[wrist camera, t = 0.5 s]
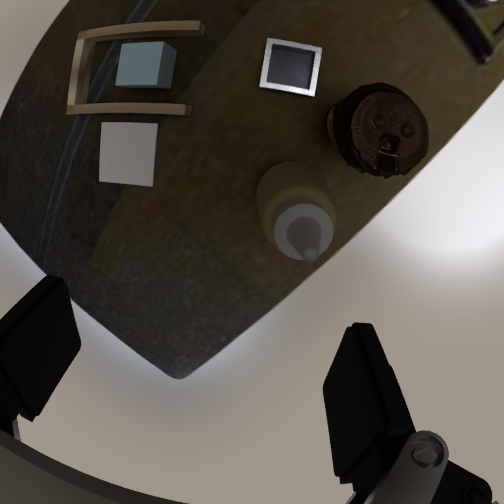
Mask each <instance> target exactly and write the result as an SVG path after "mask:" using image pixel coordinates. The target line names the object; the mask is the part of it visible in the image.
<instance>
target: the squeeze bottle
mask: <svg viewBox="0 0 504 504" xmlns="http://www.w3.org/2000/svg"><path fill="white" fill-rule="evenodd" d="M256 204H257V208H258V212H259V216H260V220H261V224H262V228H263V231H264V233H265V235H266V237H267V240H268V241H269V242H270V243H271V244H272V245H273V246H274V247H275V248H276V249H277V250H278V251H280V252H283V253H284V254H285V255H286V256H289V257H291V258H294V259H296V260H305V261H307V262H312V261H315V260H316V259H317V258H318V256H319V255H320V254H322V253H323V252H324V251H325V250H326V249H327V248H328V247H329V245H330V243H331V241H332V239H333V236H334V234H335V232H336V230H337V222H338V213H337V210H336V207H335V204H334V201H333V199H332V196H331V194H330V191H329V189H328V186H327V184H326V181H325V179H324V177H323V176H322V175H321V174H320V173H319V172H318V171H317V170H316V169H315V168H314V167H312V166H310V165H308V164H306V163H303V162H300V161H285V162H283V163H280V164H278V165H275V166H272V167H271V168H270V169H269V170H268V171H267V172H266V173H265V174H264V175H263V176H262V178H261V180H260V182H259V185H258V187H257V189H256Z"/></svg>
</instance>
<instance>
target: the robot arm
mask: <svg viewBox="0 0 504 504" xmlns="http://www.w3.org/2000/svg"><path fill="white" fill-rule="evenodd" d="M80 348H81V339H80V336H79V332H78V329H77V325H76V321H75V317H74V313H73V309H72V305H71V300H70V296H69V291H68V287H67V284H66V283H65V282H64V280H63V278H61V277H57V276H53V275H47V276H45V277H44V278H43V279H42V280H41V281H40V282H39V283H37V285H35V286H34V287H33V288H32V289H31V290H30V291H29V292H28V293H27V294H26V295H25V296H24V297H23V298H21V299H20V301H18V302H17V304H15V305H14V306H13V307H12V308H11V309H10V310H9V311H8V312H7V313H6V314H5V315H4V316H3V317H2V318H1V319H0V504H187V503H182V502H177V501H173V500H168V499H164V498H160V497H155V496H152V495H148V494H144V493H141V492H137V491H134V490H130V489H127V488H124V487H121V486H118V485H115V484H111V483H109V482H106V481H103V480H101V479H98V478H95V477H93V476H90V475H88V474H85V473H83V472H80V471H78V470H76V469H74V468H71V467H69V466H67V465H65V464H62V463H60V462H58V461H56V460H54V459H52V458H50V457H48V456H46V455H44V454H42V453H40V452H38V451H36V450H35V449H33V448H31V447H29V446H27V445H26V444H24V443H22V442H21V439H20V434H19V428H18V422H17V416H18V414H20V415H21V416H22V417H24V418H25V419H27V420H29V421H31V422H33V420H34V418H35V417H36V416H38V415H40V413H41V412H42V410H43V408H44V406H45V405H46V403H47V401H48V400H49V398H50V396H51V395H52V393H53V391H54V390H55V388H56V386H57V385H58V383H59V382H60V380H61V378H62V377H63V375H64V373H65V372H66V370H67V369H68V367H69V366H70V364H71V362H72V361H73V360H74V358H75V357H76V355H77V354H78V352H79V350H80ZM323 395H324V402H325V409H326V416H327V423H328V430H329V437H330V444H331V452H332V460H333V468H334V474H335V476H337V477H339V478H340V484H347V483H352V484H353V491H354V493H353V494H352V496H351V497H350V498H349V500H348V501H347V502H346V504H499V503H498V502H497V501H495V502H493V503H492V502H491V501H492V491H491V488H490V486H489V484H488V483H487V482H486V481H485V480H484V479H482V478H480V477H478V476H476V475H474V474H473V473H471V472H469V471H467V470H465V469H464V468H462V467H460V466H458V465H456V464H455V463H453V462H451V461H449V460H448V457H449V452H448V447H447V445H446V443H445V441H444V440H443V439H442V438H441V437H440V436H439V435H437V434H436V433H433V432H431V431H423V430H422V431H418V432H416V430H415V427H414V424H413V422H412V419H411V416H410V413H409V410H408V408H407V405H406V402H405V399H404V397H403V394H402V392H401V389H400V386H399V383H398V381H397V379H396V376H395V373H394V371H393V369H392V367H391V366H390V365H389V363H388V361H387V358H386V355H385V353H384V350H383V348H382V346H381V343H380V341H379V339H378V336H377V334H376V331H375V329H374V327H373V325H372V324H370V323H357V322H355V323H353V324H352V326H351V327H347V328H346V330H345V333H344V335H343V338H342V341H341V343H340V346H339V349H338V350H337V353H336V355H335V358H334V360H333V363H332V365H331V367H330V370H329V372H328V374H327V376H326V379H325V381H324V384H323Z"/></svg>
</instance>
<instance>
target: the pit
mask: <svg viewBox="0 0 504 504" xmlns="http://www.w3.org/2000/svg"><path fill="white" fill-rule="evenodd" d="M321 52H322V48H320V47H315V46H311V45H306V44H301V43H296V42H290V41H284V40H278V39H272V38H268V39H267V45H266V51H265V56H264V62H263V68H262V74H261V80H260V86H259V87H260V88H261V89H267V90H274V91H280V92H285V93H291V94H296V95H301V96H306V97H311V98H312V97H314V95H315V89H316V83H317V77H318V71H319V64H320V58H321Z"/></svg>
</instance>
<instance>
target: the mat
mask: <svg viewBox="0 0 504 504" xmlns="http://www.w3.org/2000/svg"><path fill="white" fill-rule="evenodd" d="M157 132H158V124H155V123H128V122H102V129H101V145H100V173H99V181H102V182H113V183H123V184H133V185H142V186H151V187H153V182H154V167H155V154H156V143H157Z"/></svg>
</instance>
